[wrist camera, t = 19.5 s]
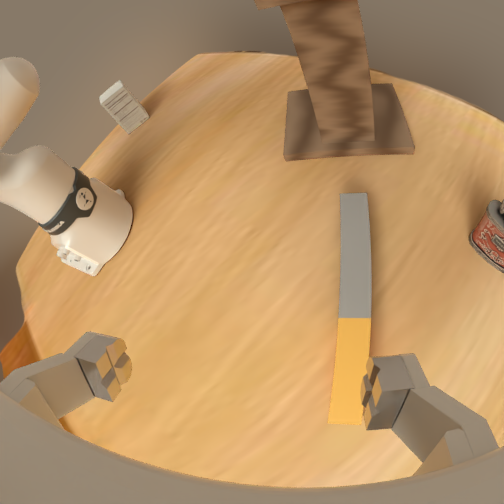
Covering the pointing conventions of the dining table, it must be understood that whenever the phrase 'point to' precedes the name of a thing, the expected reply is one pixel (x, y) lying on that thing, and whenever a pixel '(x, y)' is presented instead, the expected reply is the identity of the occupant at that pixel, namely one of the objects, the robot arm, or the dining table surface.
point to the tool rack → (337, 87)
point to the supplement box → (123, 107)
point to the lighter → (490, 235)
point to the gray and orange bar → (352, 311)
